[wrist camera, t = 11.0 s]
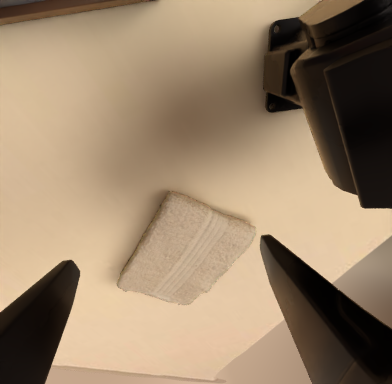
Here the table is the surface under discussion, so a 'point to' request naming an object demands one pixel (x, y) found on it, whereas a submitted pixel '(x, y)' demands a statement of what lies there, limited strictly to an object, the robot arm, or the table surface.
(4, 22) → the toy bed
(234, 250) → the washcloth
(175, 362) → the table surface
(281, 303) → the robot arm
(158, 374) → the table surface
